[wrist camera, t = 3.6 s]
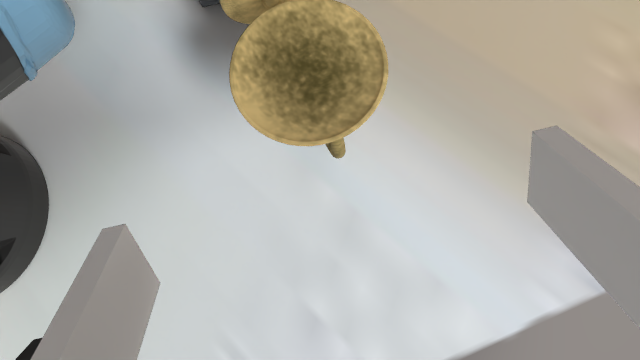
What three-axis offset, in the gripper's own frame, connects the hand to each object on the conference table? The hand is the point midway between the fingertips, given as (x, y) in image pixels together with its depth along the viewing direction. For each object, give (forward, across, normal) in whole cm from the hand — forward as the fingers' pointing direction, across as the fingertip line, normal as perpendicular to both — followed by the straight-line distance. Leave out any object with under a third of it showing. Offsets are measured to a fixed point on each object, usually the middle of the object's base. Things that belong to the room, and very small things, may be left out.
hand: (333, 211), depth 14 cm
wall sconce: (+23, 0, -6) cm, 24 cm away
